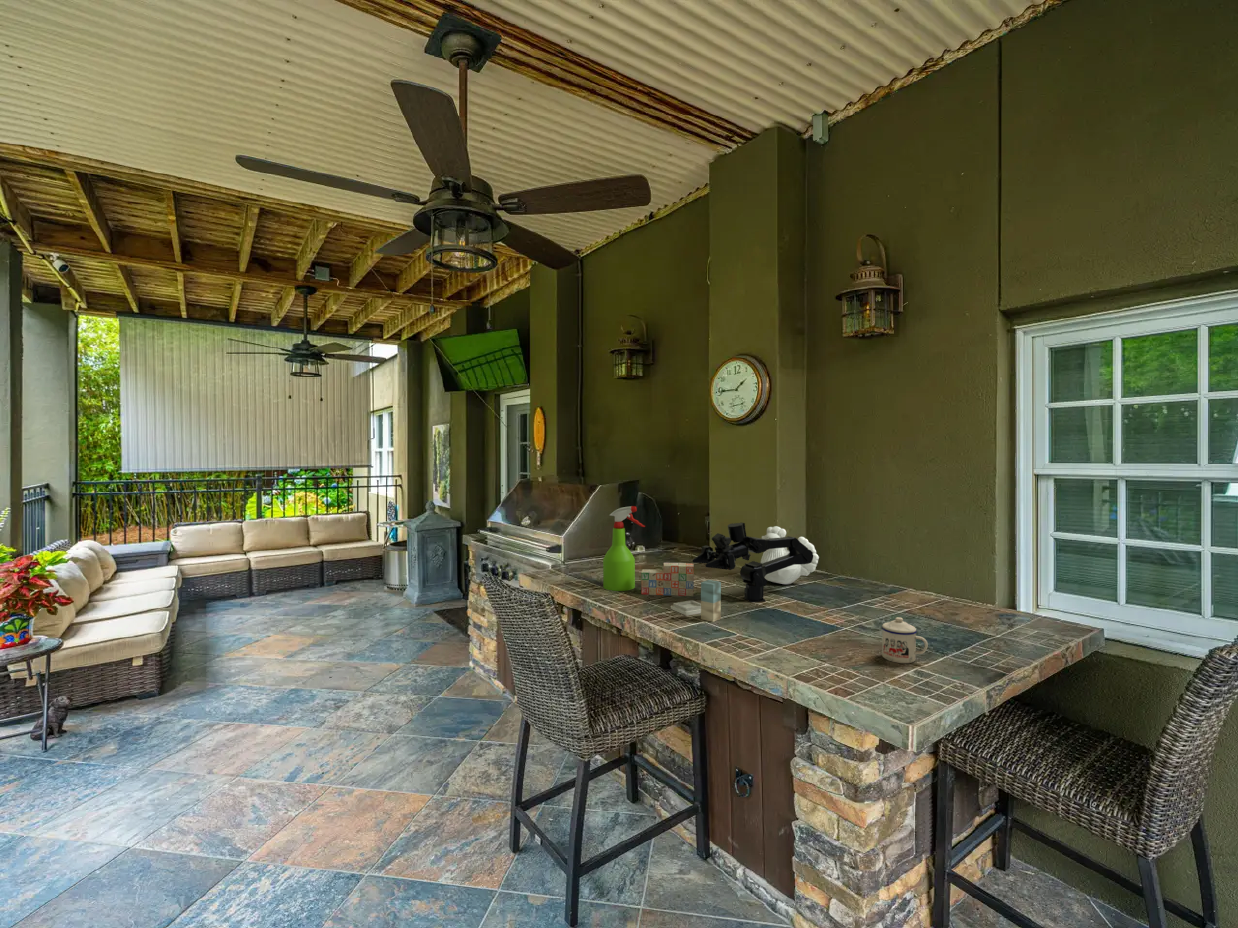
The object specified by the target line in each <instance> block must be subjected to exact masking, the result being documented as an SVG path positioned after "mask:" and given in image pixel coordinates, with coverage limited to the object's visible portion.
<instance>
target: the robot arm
mask: <svg viewBox="0 0 1238 928" xmlns="http://www.w3.org/2000/svg"><path fill="white" fill-rule="evenodd" d="M727 530H728V536H725V535H724V534H723V533H716V534H715V535H713V536H712V537H711V538H710V539H711V540H712V541H713V544H714V545H715V547H714V548H713V547H712V546H709V545H702V546H701V550H700V551H701V552H700V553H699V554H698V555H697V556H696V557H694V558H693V559H692V564H704V565H705V568H709V569H719V570H728V571H731V570H734V569H735V567H736V561H737V559H740V558H742V560H744V561H749V562H746V563H744V564H743V565H742V566H741V568H740V571H739V575H740V578H742V581H743V583H745V587H744V595H743V599H745V600H746V601H747V602H750V603H754V602H766V599H765V598H764V597H765V596H764V594H765V593H764V592H765V589H764V587H766V586H767V584H768V583H767V582H768V580H766V579H765V578H764V577H765V576H766V575H767V574H769V573H772V572H775V571H778V570H780V569H783V568H786V567H789V566H792V565H798V564H809V563H811V562H812V560H813V552H812V551H811V550H809V549H808V548H807V547H806V546H804V545H803V544H802V543H800V541H799V540H798V538H796V537H794V536H789V535H788V536H785V537H781V538H769V539H762V537H760V538H759V537H754V536H748V535H747V531H746V523H745V522H737V523H736V522H735V523H729V524H728V525H727ZM732 542H733V544H731V543H732ZM786 547H787V550H788V551H789V554H788V555H785V556H782V557H779V558H776V559H774V560H771V561H768V562H765V563H761V562H758V561H755V560H751V561H750V557H751V554H750V553H754V554H761V553H764V552H765V551H766V550H768V549H775V548H786ZM714 550H715V551H714Z"/></svg>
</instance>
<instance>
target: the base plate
mask: <svg viewBox="0 0 1238 928" xmlns="http://www.w3.org/2000/svg"><path fill="white" fill-rule="evenodd" d="M670 610H673V611H675V612H677V613H680V614H681V615H684V616H692V615H697V614H701V602H698V601H695V600H693V599H692V600H691V599H690V600H686V601H680V602H679V601H678V602H673V604H672V605H670Z"/></svg>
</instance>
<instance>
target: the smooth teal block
mask: <svg viewBox="0 0 1238 928" xmlns="http://www.w3.org/2000/svg"><path fill="white" fill-rule="evenodd" d="M721 584H722V582H721V581H717V580H712V579H708V580H704V581H702V582H700V604H701V613H700V620H702V621H708V622H713V623H714V622H716V621H718V620H721V619H722V617H721V615H722V613H721V611H722V609H721V607H722V605H721V603H722V601H721V600H722V596H721V595H722V594H721V593H722V592H721V591H722V590H721V589H722V585H721Z"/></svg>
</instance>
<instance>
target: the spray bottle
mask: <svg viewBox="0 0 1238 928" xmlns="http://www.w3.org/2000/svg"><path fill="white" fill-rule="evenodd" d="M636 512H637V506H635V505H631V506H625V507H619V508H618V509H617V508H616V509H615V510H614V511H613V512H611V513H610V514H609V516H611V517H614V523H613V528H612V540H611V541H612V542H611V546H610V547H609V549H608V550H607V552H606V553H605V555H604V557H603V559H602V572H603V573H602V574H603V577H602V579H603V580H602V581H603V582H602V584H603V586H602V587H603V589H605V590H608V591H613V592H625V591H631V590H633V589H635V587H636V579H635V578H636V572H635V571H636V568H635V566H636V559H635V557H634V555H633V553H632V552H631V550H630V549H629V548H628V546H627V545H626V528H625V525H624V522H623V521H624V520H625V519H627V520H629V521H631V522H633V523H634V524H635V525H638V526H639V527H640V528H641V527H642V528H645V527H646V525H645V524H643V523H641V522H640V521H639V520H637V519H635V518H634V516H633V514H632V513H636Z"/></svg>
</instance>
